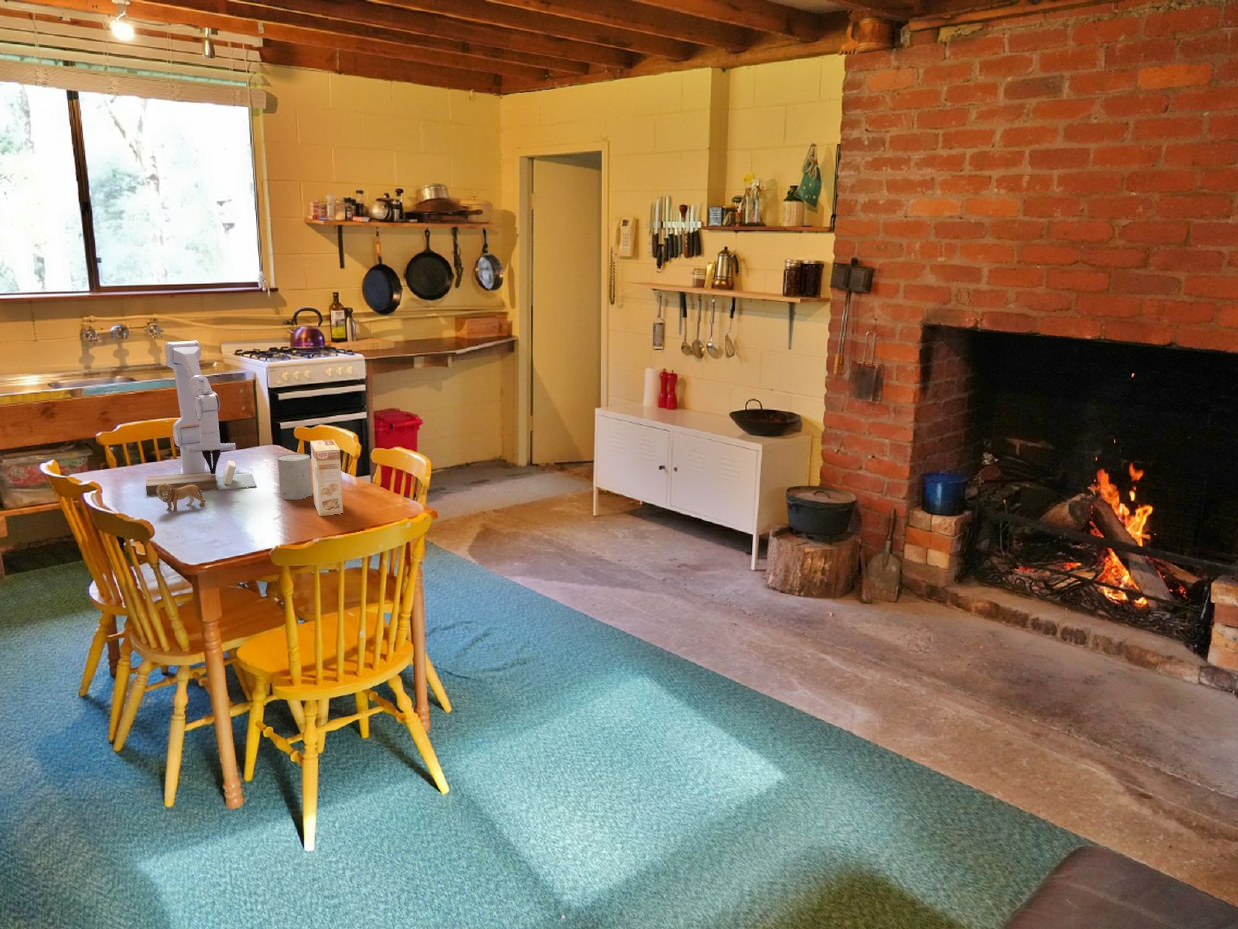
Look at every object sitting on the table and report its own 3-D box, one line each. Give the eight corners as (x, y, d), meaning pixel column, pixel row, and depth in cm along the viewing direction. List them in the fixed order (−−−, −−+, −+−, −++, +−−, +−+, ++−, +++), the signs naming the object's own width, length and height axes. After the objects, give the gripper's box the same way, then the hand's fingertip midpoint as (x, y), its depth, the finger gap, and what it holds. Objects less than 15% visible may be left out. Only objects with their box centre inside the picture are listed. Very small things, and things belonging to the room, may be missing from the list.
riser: (147, 485, 297) (146, 476, 297) (215, 479, 306) (214, 471, 305) (146, 495, 287) (145, 486, 286) (217, 489, 295) (216, 480, 295)
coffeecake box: (344, 514, 273) (340, 449, 268) (318, 516, 270) (314, 451, 265) (337, 500, 286) (334, 438, 281) (313, 503, 283) (309, 440, 278)
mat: (216, 478, 308) (216, 476, 308) (252, 475, 312) (252, 473, 312) (219, 490, 294) (219, 489, 294) (256, 487, 298) (256, 485, 298)
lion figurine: (164, 516, 267) (161, 485, 265) (154, 512, 270) (151, 483, 268) (210, 504, 279) (208, 475, 277) (200, 501, 282) (197, 472, 280)
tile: (227, 460, 304) (234, 461, 305) (222, 477, 305) (229, 478, 306) (229, 465, 297) (235, 467, 298) (224, 483, 298) (230, 484, 299)
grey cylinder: (275, 494, 291) (273, 455, 288) (306, 489, 297) (303, 452, 294) (285, 501, 284) (283, 462, 281) (316, 496, 290) (314, 458, 287)
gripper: (184, 436, 289) (188, 478, 293) (234, 432, 296) (238, 474, 299) (184, 431, 296) (188, 472, 299) (233, 428, 302) (236, 469, 305)
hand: (213, 473), depth 299 cm, fingers closed
